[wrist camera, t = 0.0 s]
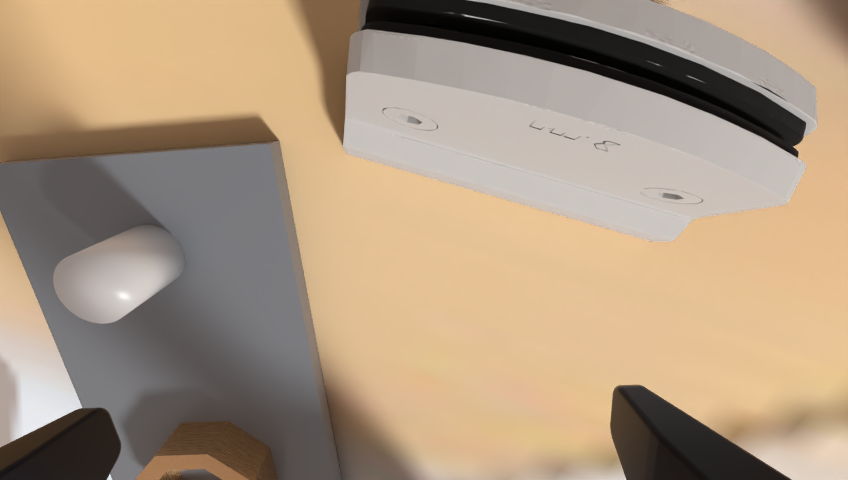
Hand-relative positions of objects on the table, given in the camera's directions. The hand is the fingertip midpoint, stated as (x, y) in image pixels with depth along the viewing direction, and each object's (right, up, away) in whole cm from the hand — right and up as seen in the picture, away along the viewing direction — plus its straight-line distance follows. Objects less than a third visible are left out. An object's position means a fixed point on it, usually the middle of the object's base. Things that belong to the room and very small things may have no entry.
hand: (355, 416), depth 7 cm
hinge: (+6, +9, +13) cm, 17 cm away
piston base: (-12, -4, +17) cm, 21 cm away
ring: (-11, -11, +18) cm, 24 cm away
